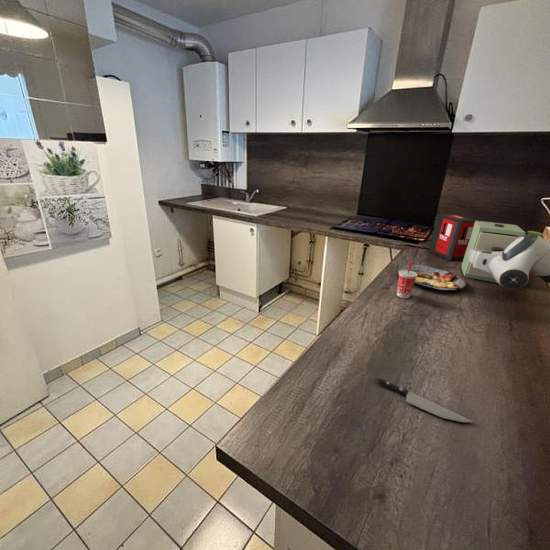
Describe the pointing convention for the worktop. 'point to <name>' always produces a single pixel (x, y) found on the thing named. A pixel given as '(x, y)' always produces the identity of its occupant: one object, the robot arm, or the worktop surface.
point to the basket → (489, 249)
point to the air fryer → (492, 229)
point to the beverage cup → (406, 282)
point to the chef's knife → (426, 404)
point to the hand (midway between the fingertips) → (496, 253)
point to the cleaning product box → (451, 236)
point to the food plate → (436, 278)
